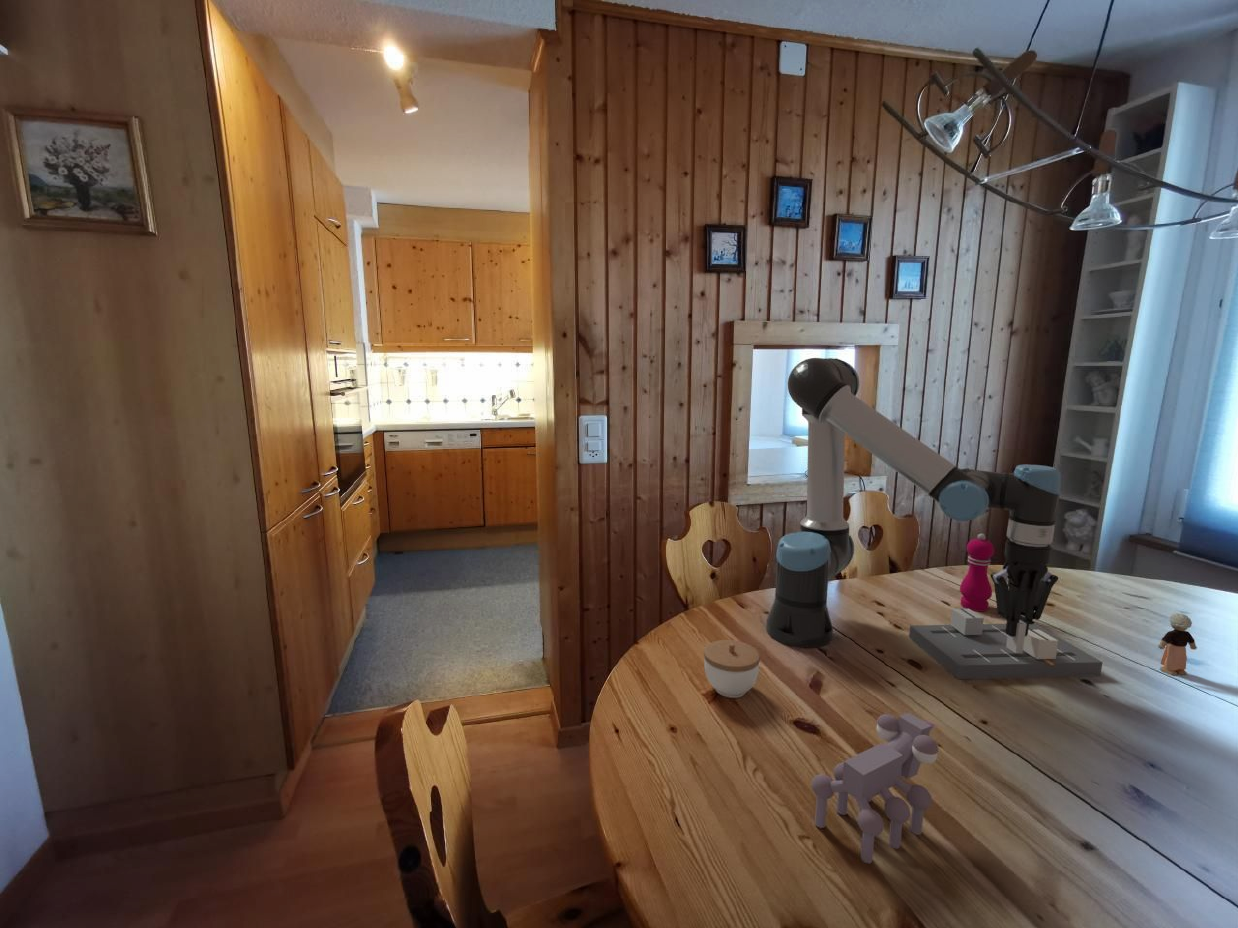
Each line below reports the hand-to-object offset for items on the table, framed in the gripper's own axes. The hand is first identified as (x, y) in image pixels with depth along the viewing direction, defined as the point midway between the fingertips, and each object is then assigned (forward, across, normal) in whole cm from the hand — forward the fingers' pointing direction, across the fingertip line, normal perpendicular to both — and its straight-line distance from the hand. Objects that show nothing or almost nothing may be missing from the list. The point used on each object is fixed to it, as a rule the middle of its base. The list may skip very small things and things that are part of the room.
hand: (1014, 649), depth 117 cm
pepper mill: (+4, +13, +30) cm, 34 cm away
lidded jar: (+5, -61, -5) cm, 62 cm away
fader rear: (+1, -3, +11) cm, 11 cm away
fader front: (+1, +5, 0) cm, 5 cm away
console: (+4, +1, +5) cm, 7 cm away
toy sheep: (+4, -48, -38) cm, 61 cm away
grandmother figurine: (+4, +32, -3) cm, 32 cm away
